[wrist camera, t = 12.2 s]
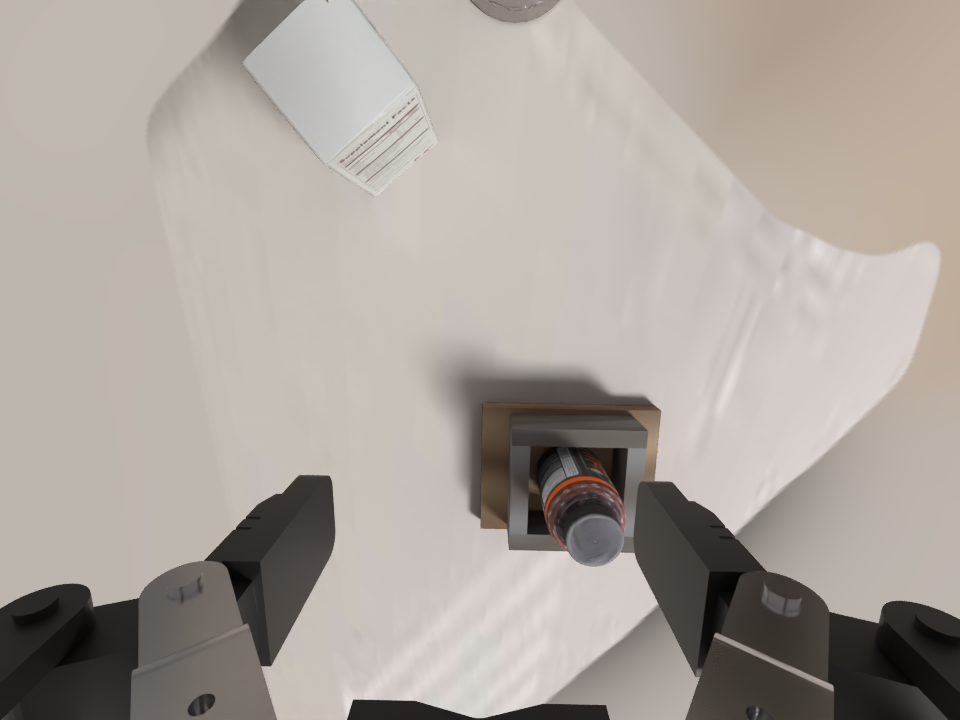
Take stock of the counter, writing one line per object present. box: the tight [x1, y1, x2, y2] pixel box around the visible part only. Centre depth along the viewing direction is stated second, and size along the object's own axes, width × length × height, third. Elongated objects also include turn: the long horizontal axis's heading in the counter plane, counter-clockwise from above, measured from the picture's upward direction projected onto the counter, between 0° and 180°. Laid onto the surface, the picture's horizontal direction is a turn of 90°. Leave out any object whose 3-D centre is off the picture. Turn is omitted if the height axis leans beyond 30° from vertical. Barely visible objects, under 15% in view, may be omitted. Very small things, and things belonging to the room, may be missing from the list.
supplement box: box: [242, 0, 438, 197], centre depth 31 cm, size 7×7×13 cm
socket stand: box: [481, 403, 661, 553], centre depth 40 cm, size 12×16×6 cm
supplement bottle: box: [536, 447, 626, 566], centre depth 36 cm, size 6×6×11 cm
